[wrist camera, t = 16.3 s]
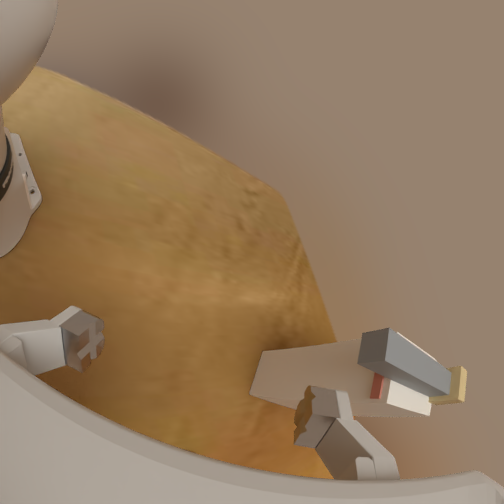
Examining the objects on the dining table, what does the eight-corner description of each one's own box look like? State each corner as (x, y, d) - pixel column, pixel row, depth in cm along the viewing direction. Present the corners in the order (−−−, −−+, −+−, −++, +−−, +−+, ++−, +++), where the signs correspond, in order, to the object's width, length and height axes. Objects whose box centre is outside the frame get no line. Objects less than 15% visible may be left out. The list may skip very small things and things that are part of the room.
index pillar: (247, 393, 44) (385, 402, 24) (261, 350, 49) (395, 330, 28) (300, 411, 48) (429, 416, 28) (311, 372, 53) (436, 359, 32)
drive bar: (355, 371, 23) (398, 366, 20) (363, 326, 25) (403, 317, 22) (436, 405, 30) (464, 402, 26) (439, 375, 32) (466, 370, 29)
